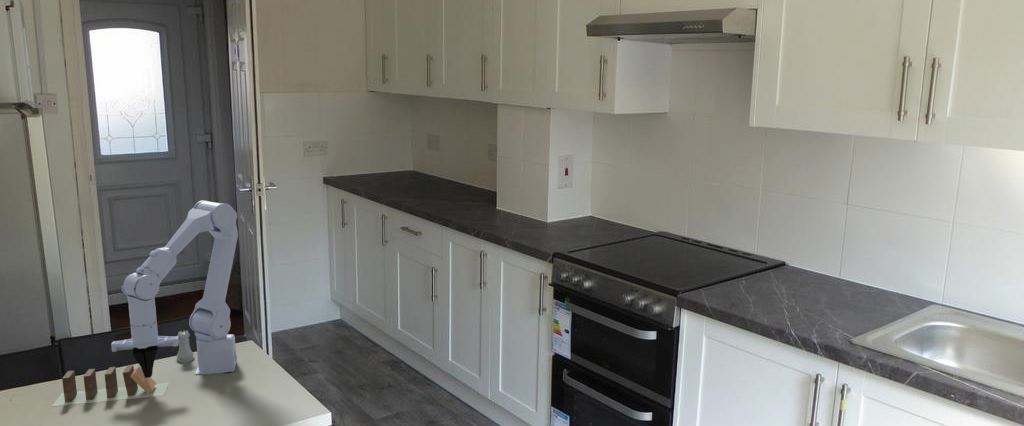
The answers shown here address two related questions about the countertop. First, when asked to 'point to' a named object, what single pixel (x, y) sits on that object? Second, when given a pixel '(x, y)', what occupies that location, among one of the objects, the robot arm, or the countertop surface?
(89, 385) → the domino
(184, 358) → the rook chess piece
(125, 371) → the domino
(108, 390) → the domino
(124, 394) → the sage mat
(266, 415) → the countertop surface
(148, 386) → the terracotta domino
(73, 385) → the domino
